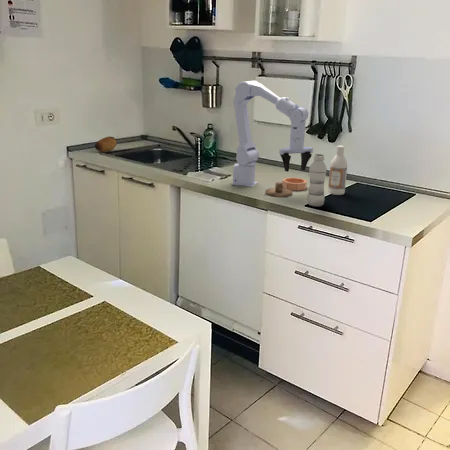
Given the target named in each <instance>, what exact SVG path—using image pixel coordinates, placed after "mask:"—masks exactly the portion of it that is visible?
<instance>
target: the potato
mask: <svg viewBox="0 0 450 450" xmlns="http://www.w3.org/2000/svg"><path fill="white" fill-rule="evenodd" d="M116 147H117V139H116V137H114V136H110V135H109V136H106V137H103V138H100V140H98V141H96V143H94V148H95V150H97V151H99V153H100V152H101V153H106V152H105V151H109V152H111V151H113V150H114V149H115V148H116Z"/></svg>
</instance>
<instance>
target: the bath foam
mask: <svg viewBox="0 0 450 450" xmlns="http://www.w3.org/2000/svg"><path fill="white" fill-rule="evenodd" d="M344 151H345V146H344V145H337V146H336V154H335V156H334V157H333V158H332V159H331V162H330V164H329V174H328V175H329V176H328V186H327V193H329V194H331V195H333V196H334V195H335V196H342V195H344V194H345V190H346V182H347V172H348V162H347V159H346V157H345V155H344V153H345V152H344Z"/></svg>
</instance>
